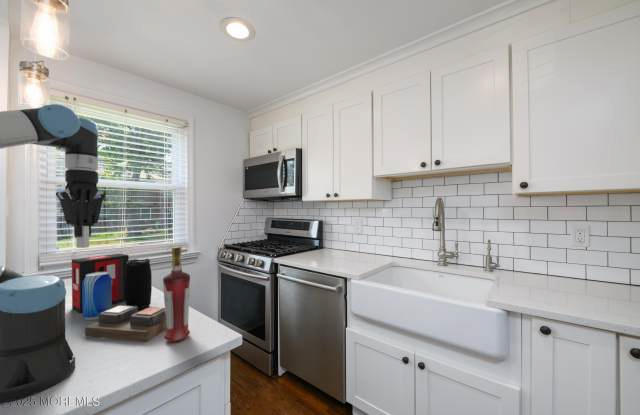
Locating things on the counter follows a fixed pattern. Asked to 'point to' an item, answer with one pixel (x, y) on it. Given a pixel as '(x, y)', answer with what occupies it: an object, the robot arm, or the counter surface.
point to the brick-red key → (149, 311)
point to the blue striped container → (96, 294)
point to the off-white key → (118, 309)
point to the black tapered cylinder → (138, 283)
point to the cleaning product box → (105, 263)
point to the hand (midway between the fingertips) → (82, 247)
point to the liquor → (176, 300)
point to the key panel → (127, 325)
